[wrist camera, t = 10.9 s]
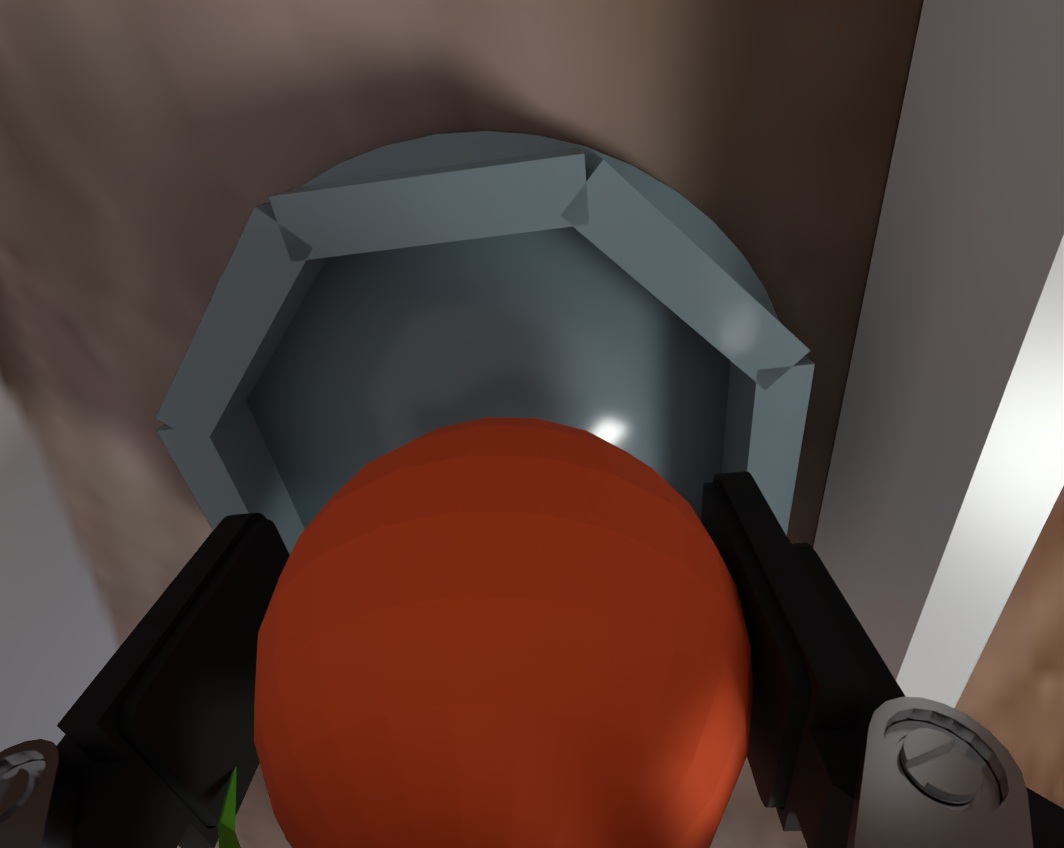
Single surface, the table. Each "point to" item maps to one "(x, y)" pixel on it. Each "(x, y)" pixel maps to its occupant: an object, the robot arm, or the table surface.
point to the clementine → (502, 654)
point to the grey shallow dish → (480, 327)
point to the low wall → (957, 348)
